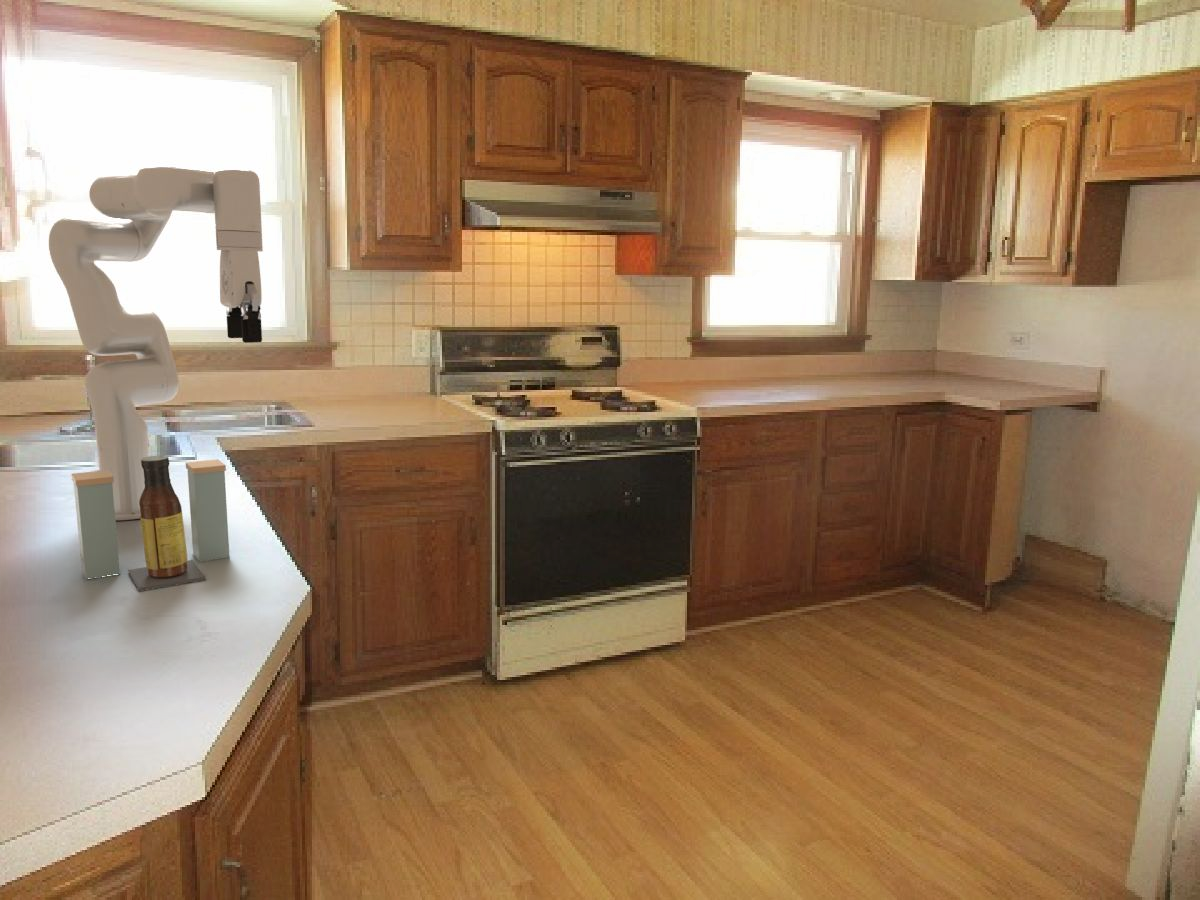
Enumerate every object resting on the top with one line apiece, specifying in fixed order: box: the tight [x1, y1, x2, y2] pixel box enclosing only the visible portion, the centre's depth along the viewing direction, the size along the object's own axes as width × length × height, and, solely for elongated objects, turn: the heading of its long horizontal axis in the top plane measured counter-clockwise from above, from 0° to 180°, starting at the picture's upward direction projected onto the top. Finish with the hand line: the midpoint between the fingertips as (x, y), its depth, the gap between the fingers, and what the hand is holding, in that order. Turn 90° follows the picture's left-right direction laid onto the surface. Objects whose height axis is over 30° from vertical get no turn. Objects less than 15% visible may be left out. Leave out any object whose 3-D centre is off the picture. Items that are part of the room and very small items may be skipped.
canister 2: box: [185, 458, 230, 562], centre depth 156 cm, size 5×5×17 cm
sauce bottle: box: [139, 455, 188, 578], centre depth 145 cm, size 7×6×20 cm
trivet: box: [127, 559, 207, 592], centre depth 147 cm, size 10×10×1 cm
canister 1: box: [70, 470, 121, 580], centre depth 146 cm, size 5×5×17 cm
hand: (244, 340), depth 158 cm, fingers open, 9 cm apart
